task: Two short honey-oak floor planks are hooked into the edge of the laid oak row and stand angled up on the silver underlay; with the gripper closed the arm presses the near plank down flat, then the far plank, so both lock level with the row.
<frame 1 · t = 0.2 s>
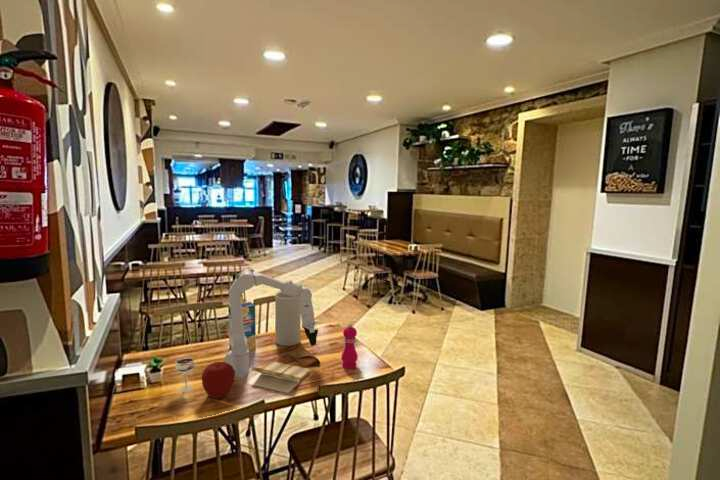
hand: (311, 341, 170), 11 cm above the table, tool pointing down, fingers open, 7 cm apart
pepper mill: (349, 366, 171), on the table
cylinder vase: (288, 342, 196), on the table
wineglass: (186, 389, 149), on the table
brown shoe: (303, 361, 176), on the table
underlay: (279, 377, 159), on the table
plank b: (286, 376, 154), point 3 cm above the table, hinge at 35.0°
beverage box: (242, 349, 186), on the table
laid row: (286, 371, 163), resting on underlay
apple: (219, 396, 145), on the table
plank a: (266, 372, 157), point 3 cm above the table, hinge at 35.0°
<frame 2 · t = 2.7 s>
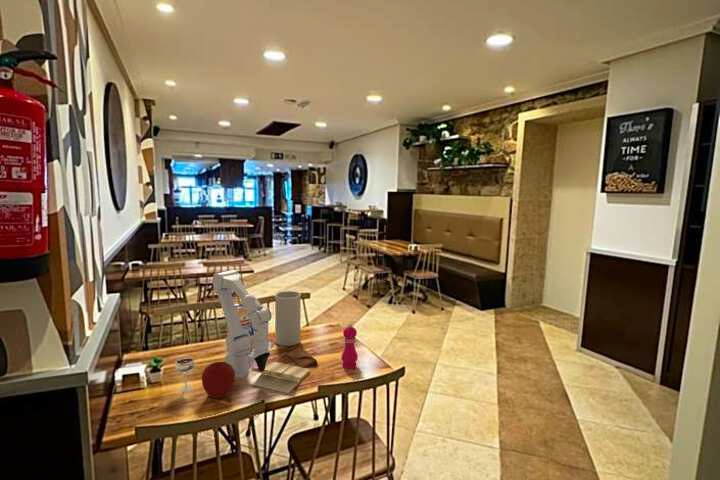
hand: (261, 370, 154), 6 cm above the table, tool pointing down, fingers closed, pressing on plank a
brown shoe: (300, 361, 175), on the table
plank a: (266, 372, 157), point 3 cm above the table, hinge at 33.1°, touching gripper
everything else where it was.
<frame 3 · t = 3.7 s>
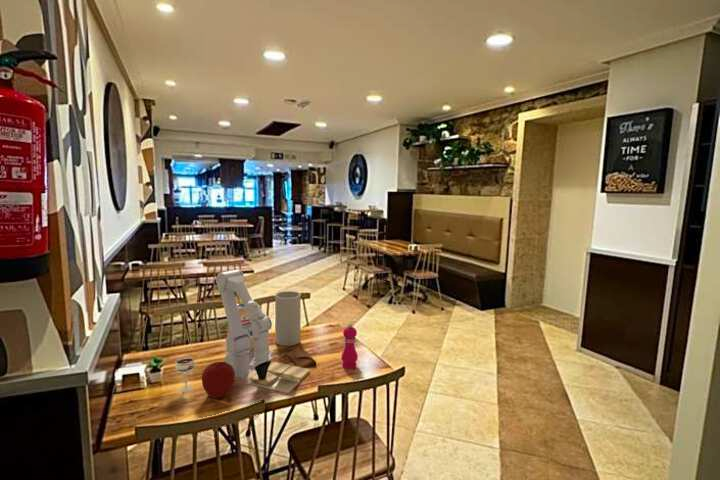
hand: (262, 378, 154), 2 cm above the table, tool pointing down, fingers closed, pressing on plank a
plank a: (264, 377, 156), point 1 cm above the table, hinge at 3.5°, touching gripper
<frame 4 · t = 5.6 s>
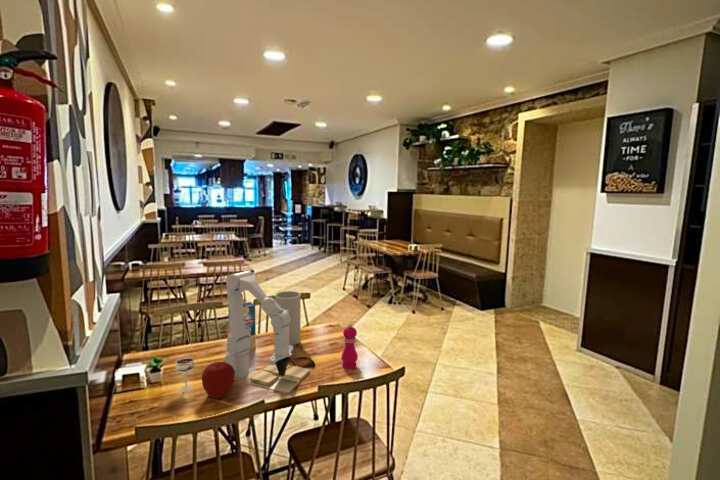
hand: (282, 374, 150), 6 cm above the table, tool pointing down, fingers closed, pressing on plank b
plank b: (286, 376, 154), point 3 cm above the table, hinge at 33.4°, touching gripper
plank a: (264, 377, 156), point 1 cm above the table, hinge at 3.4°
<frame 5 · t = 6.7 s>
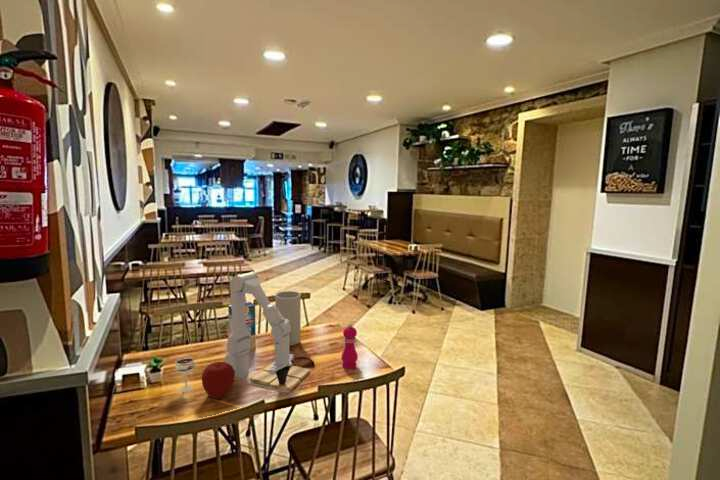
hand: (282, 383, 151), 2 cm above the table, tool pointing down, fingers closed
plank b: (284, 382, 153), point 1 cm above the table, hinge at 0.5°
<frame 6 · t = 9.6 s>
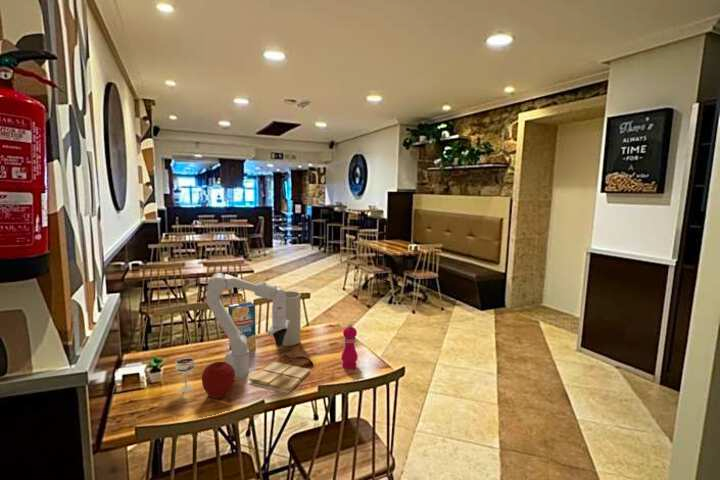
hand: (279, 345, 166), 10 cm above the table, tool pointing down, fingers closed
at the end: plank a at +3° (first picture: +35°); plank b at +0° (first picture: +35°) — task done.
